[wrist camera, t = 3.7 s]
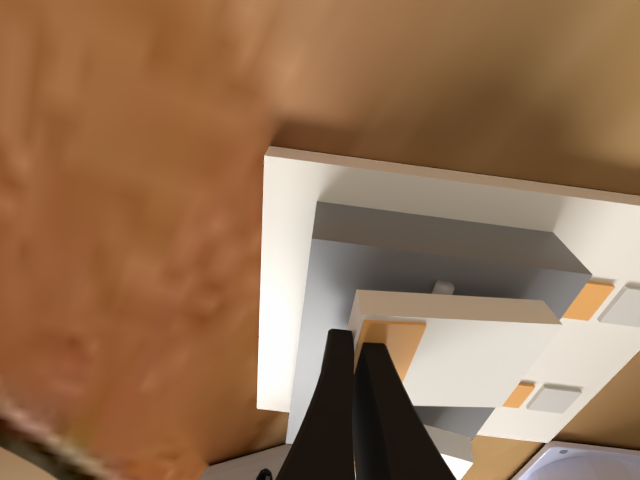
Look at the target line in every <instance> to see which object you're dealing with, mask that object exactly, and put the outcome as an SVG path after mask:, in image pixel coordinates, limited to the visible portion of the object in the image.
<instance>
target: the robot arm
mask: <svg viewBox="0 0 640 480" xmlns="http://www.w3.org/2000/svg"><path fill="white" fill-rule="evenodd" d="M354 353H355V352H354V343H353V336H352V331H351V330H342V329H333V328H332V329H330V330H328V335H327V340H326V345H325V351H324V356H323V361H322V366H321V373H320V376H319V379H318V382H317V385H316V388H315V391H314V394H313V397H312V399H311V402H310V404H309V407H308V409H307V412H306V414H305V417H304V419H303V422H302V424H301V426H300V429H299V431H298V433H297V435H296V438H295V440H294V442H293V444H292V446H291V448H290V450H289V453H288V455H287V457H286V459H285V461H284V463H283V465H282V467H281V469H280V471H279V473H278V475H277V477H276V479H275V480H457V479H456V478H455V476H454V475H453V473H452V471H451V470H450V468H449V467H448V465H447V464H446V462H445V460H444V459H443V457H442V456H441V454H440V452H439V451H438V449H437V447H436V446H435V444H434V442H433V440H432V439H431V437H430V435H429V433H428V432H427V430H426V428H425V426H424V425H423V423H422V421H421V419H420V417H419V415H418V413H417V412H416V410H415V408H414V406H413V404H412V402H411V400H410V398H409V396H408V394H407V392H406V390H405V388H404V386H403V383H402V381H401V379H400V377H399V375H398V372H397V370H396V368H395V366H394V363H393V361H392V359H391V356H390V354H389V351H388V349H387V346H386V345H385V344H384V343H370V342H363V345H362V348H361V352H360V355H359V359H358V362H357V366H356V369H355V373H354ZM354 462H355V465H354ZM355 474H356V478H355ZM511 480H640V451H637V450H628V449H620V448H611V447H603V446H595V445H586V444H578V443H569V442H561V441H551V442H549V443H547V444H546V445H545V446H544V447H543V448H542V449H541V450H540V451H539V452H538V453H537V454H536V455H535V456H534V457H533V458H532V459H531V460H530V461H529V462H528V463H527V464H526V465H525V466H524V467H523V468H522V469H521V470H520V471H519V472H518V473H517V474H516V475H515V476H514V477H513V478H512V479H511Z"/></svg>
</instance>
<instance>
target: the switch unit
mask: <svg viewBox="0 0 640 480" xmlns="http://www.w3.org/2000/svg"><path fill="white" fill-rule="evenodd" d="M356 290H373V291H391V292H408V293H425V294H443V295H460V296H477V297H494V298H512V299H529V300H543V301H544V302H545V303H546V305H547V306H548V307H549V308H550V309H551V311H552V312H553V313H554V314H555V316H556V317H557V318H558V319H559V321H560V322H561V323H562V324H563V325H562V326H561V328H560V329H559V330H558V332H557V333H556V334H555V336H554V337H553V338H552V340H551V341H550V343H549V344H548V345H547V347H546V348H545V349H544V351H543V352H542V353H541V355H540V356H539V357H538V359H537V360H536V361H535V363H534V364H533V365H532V367H531V368H530V369H529V371H528V372H527V373H526V375H525V376H524V377H523V379H522V380H521V381H520V383H519V384H518V385H517V387H516V388H515V389H514V391H513V392H512V393H511V395H510V396H509V397H508V399H507V400H506V402H505V403H504V404H503V406H502V407H501V408H495V407H451V406H414V408H415V410H416V412H417V413H418V415H419V417H420V419H421V421H422V423H423V424H424V425H428V426H431V427H435V428H439V429H442V430H446V431H450V432H454V433H457V434H461V435H465V436H468V437H470V441H472V440H473V438H474V437H475V435H483V436H492V437H500V438H508V439H517V440H525V441H534V442H542V443H549V442H550V441H551V440H552V439H553V438H554V437H555V436H556V435H557V433H558V432H559V431H560V430H561V429H562V428H563V427H564V426H565V425H566V424H567V423H568V422H569V421H570V420H571V419H572V418H573V417H574V416H575V415H576V414H577V413H578V412H579V411H580V410H581V409H582V408H583V407H584V406H585V405H586V404H587V403H588V402H589V401H590V400H591V399H592V398H593V397H594V396H595V395H596V394H597V393H598V392H599V391H600V390H601V389H602V388H603V387H604V386H605V385H606V384H607V383H608V382H609V381H610V380H611V379H612V378H613V377H614V376H615V375H616V374H617V373H618V372H619V371H620V370H621V369H622V368H623V367H624V366H625V365H626V364H627V363H628V362H629V361H630V359H631V358H632V357H633V356H634V355H635V354H636V353H637V352H638V351H639V350H640V196H638V195H630V194H623V193H615V192H608V191H601V190H593V189H586V188H578V187H571V186H564V185H556V184H549V183H541V182H534V181H527V180H519V179H512V178H504V177H497V176H489V175H482V174H475V173H467V172H460V171H452V170H445V169H438V168H430V167H423V166H415V165H408V164H400V163H393V162H386V161H378V160H371V159H363V158H356V157H349V156H341V155H334V154H326V153H319V152H311V151H304V150H297V149H289V148H282V147H274V146H269V148H268V149H267V151H266V153H265V155H264V183H263V217H262V251H261V284H260V318H259V352H258V386H257V409H264V410H273V411H281V412H289V421H288V428H287V436H286V444H293V442H294V440H295V438H296V435H297V433H298V431H299V429H300V426H301V424H302V422H303V419H304V417H305V414H306V412H307V409H308V407H309V404H310V402H311V399H312V397H313V394H314V391H315V388H316V385H317V382H318V379H319V376H320V373H321V366H322V361H323V356H324V351H325V345H326V340H327V335H328V330H330V329H332V328H333V329H342V330H347V327H348V323H349V319H350V314H351V310H352V306H353V302H354V298H355V293H356Z"/></svg>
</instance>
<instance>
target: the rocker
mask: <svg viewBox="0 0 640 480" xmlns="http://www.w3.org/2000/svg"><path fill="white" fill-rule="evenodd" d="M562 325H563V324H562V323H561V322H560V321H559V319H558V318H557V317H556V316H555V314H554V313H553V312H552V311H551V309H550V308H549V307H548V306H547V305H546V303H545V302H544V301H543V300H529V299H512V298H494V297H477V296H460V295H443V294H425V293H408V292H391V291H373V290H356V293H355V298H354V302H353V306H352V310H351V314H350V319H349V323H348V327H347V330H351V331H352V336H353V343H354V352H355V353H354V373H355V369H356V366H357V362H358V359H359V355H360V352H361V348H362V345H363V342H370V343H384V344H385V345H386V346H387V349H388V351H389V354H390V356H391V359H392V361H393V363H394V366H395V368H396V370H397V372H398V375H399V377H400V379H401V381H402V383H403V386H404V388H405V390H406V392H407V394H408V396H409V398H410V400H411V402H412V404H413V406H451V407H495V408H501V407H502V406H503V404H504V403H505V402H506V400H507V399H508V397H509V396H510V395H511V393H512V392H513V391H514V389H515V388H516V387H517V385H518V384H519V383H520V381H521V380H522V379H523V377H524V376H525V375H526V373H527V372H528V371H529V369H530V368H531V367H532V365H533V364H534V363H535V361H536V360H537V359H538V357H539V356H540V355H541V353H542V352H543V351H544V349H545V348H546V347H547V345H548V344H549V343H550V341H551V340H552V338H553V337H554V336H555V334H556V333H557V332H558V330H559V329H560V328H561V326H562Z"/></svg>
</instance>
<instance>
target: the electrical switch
mask: <svg viewBox="0 0 640 480" xmlns="http://www.w3.org/2000/svg"><path fill="white" fill-rule="evenodd" d="M291 446H292V444H285V445H282V446H278V447H275V448H271V449H268V450H264V451H261V452H258V453H254V454H251V455H247V456H244V457H240V458H237V459H233V460H230V461H226V462H223V463H220V464H216V465H213V466H209V467H207V468H206V469H205V470H204V472H203V474H202V475H201V479H200V480H275V479H276V477H277V475H278V473H279V471H280V469H281V467H282V465H283V463H284V461H285V459H286V457H287V455H288V453H289V450H290V448H291Z"/></svg>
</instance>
